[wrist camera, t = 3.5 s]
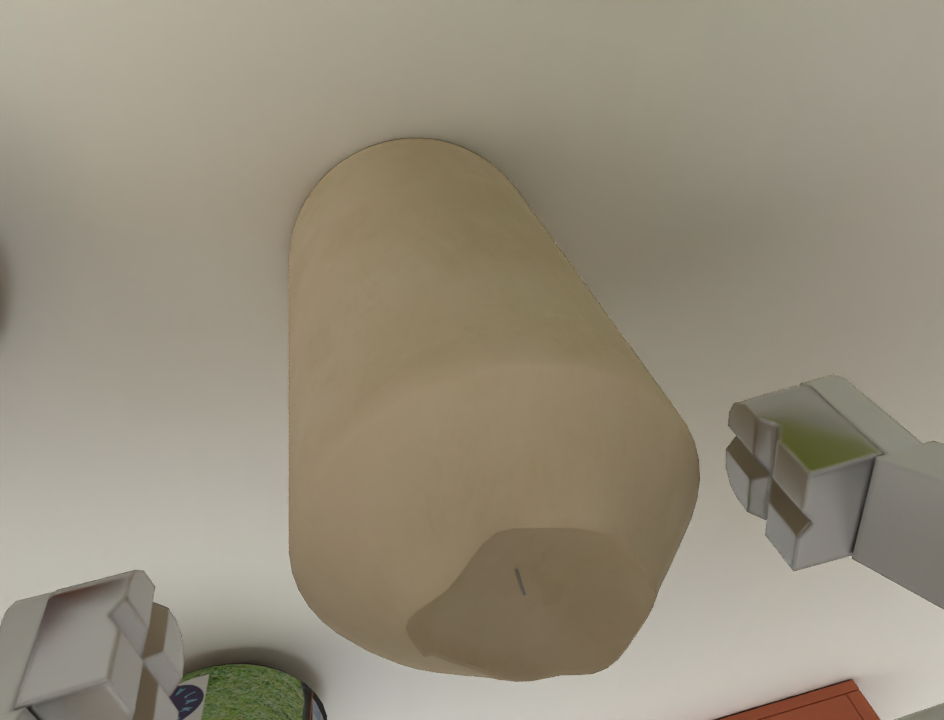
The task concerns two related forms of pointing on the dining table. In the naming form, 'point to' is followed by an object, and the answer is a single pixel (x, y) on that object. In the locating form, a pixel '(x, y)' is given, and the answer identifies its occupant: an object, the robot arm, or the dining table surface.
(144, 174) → the dining table surface
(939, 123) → the dining table surface
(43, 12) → the dining table surface
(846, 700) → the terracotta tray
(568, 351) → the candle
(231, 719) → the beverage can
